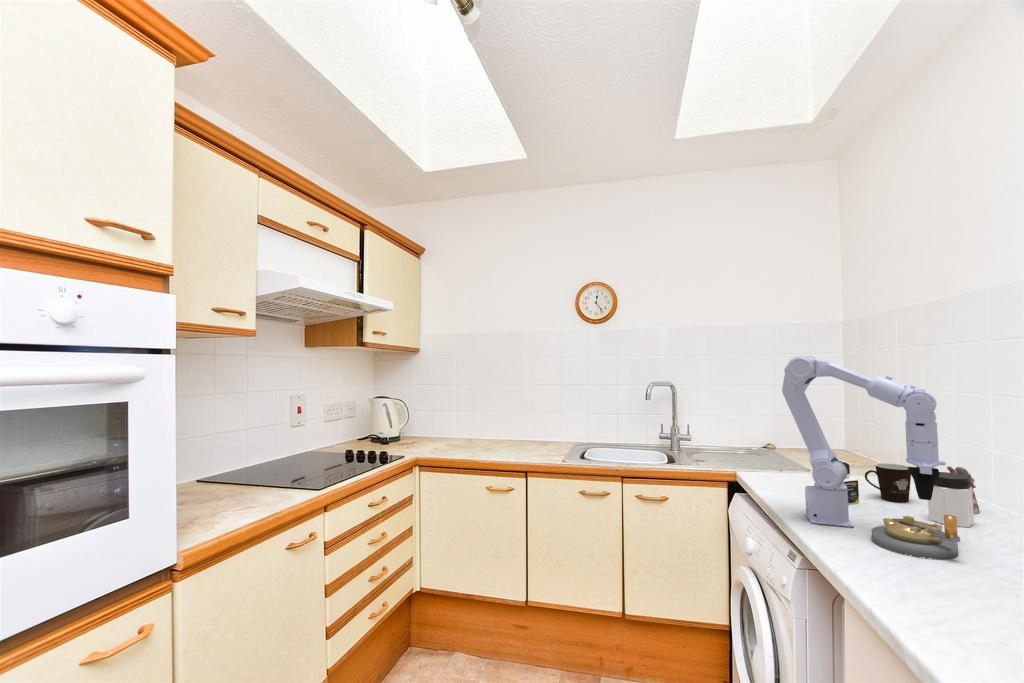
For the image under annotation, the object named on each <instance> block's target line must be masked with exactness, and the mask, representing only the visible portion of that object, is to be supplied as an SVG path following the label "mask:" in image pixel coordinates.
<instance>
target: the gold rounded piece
mask: <svg viewBox="0 0 1024 683" xmlns="http://www.w3.org/2000/svg"><path fill="white" fill-rule="evenodd" d="M902 517H903V518H889V517H885V518H883V519H882V522H883V523H884V524H883V526H884V528H885V534H887V535H888V536H890V537H892V538H895V539H898V540H901V541H905V542H910V543H916V544H924V545H936V544H941V543H942V539H944V540H947V541H950V542H953V543H955V542H957V543H961V537H960V536H958V526H957V517H955V516H951V515H944V524H943V525H944V526H943V525H942V524H937V523H928V522H925V521H920V520H916V519H915V517H913V516H910V515H903V516H902ZM943 527H944V531H942V530H943Z"/></svg>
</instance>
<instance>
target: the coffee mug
mask: <svg viewBox="0 0 1024 683" xmlns="http://www.w3.org/2000/svg"><path fill="white" fill-rule="evenodd" d="M874 465H875V466H874V467H875V470H873V469H871V470H867V471H866V472H865V473H864V479H865V481H866V482H867V483H868V484H869V485H871V486H872V487H874V488H876V489H877V490H879V491H880V497H881V498H880V499H881V500H884V501H886V502H890V503H895V504H896V503H897V504H898V503H899V504H907V503H909V502H910V491H911V479H912V475H911V474H910V472H909V471H908V468H907V467H909V466H908V465H903V464H895V463H876V464H874ZM870 473H874V474H876V476H877V482H878V486H877V485H876V484H874V483H872V482H871V480H869V478H868V475H869V474H870Z"/></svg>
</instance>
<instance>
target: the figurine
mask: <svg viewBox="0 0 1024 683" xmlns="http://www.w3.org/2000/svg"><path fill="white" fill-rule="evenodd" d="M946 469H947V470H948V471H949V473H956V474H961V475H965V476H968V477H969V478H970V481H971V485H970V487H972V497H973V512H974V515H977V514H981V511H980V507H979V506H980V505H979V503H978V500H977V498H976V497H977V496H976V494H975V490H974V489H976V488H977V487H976V486H977V485H975V483H974V482H975V479H974V478H973V477H972V475H971V473H970V472H969V471H968V470H967V469H966V468H964V467H962V466H957V467H955V469H954V468H953V467H951V466H950V465H949V466H946ZM976 513H977V514H976Z"/></svg>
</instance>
